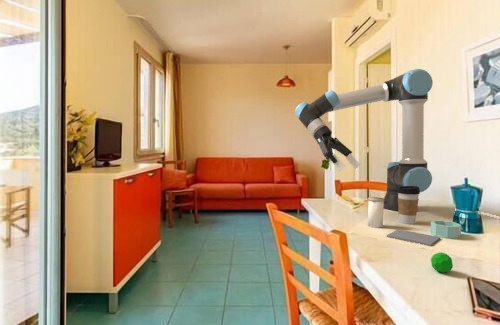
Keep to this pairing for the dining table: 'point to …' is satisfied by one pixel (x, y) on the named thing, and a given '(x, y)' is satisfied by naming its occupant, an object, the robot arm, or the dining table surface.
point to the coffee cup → (408, 203)
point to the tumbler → (375, 212)
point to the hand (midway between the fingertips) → (350, 167)
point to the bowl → (445, 229)
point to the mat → (414, 237)
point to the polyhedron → (441, 262)
